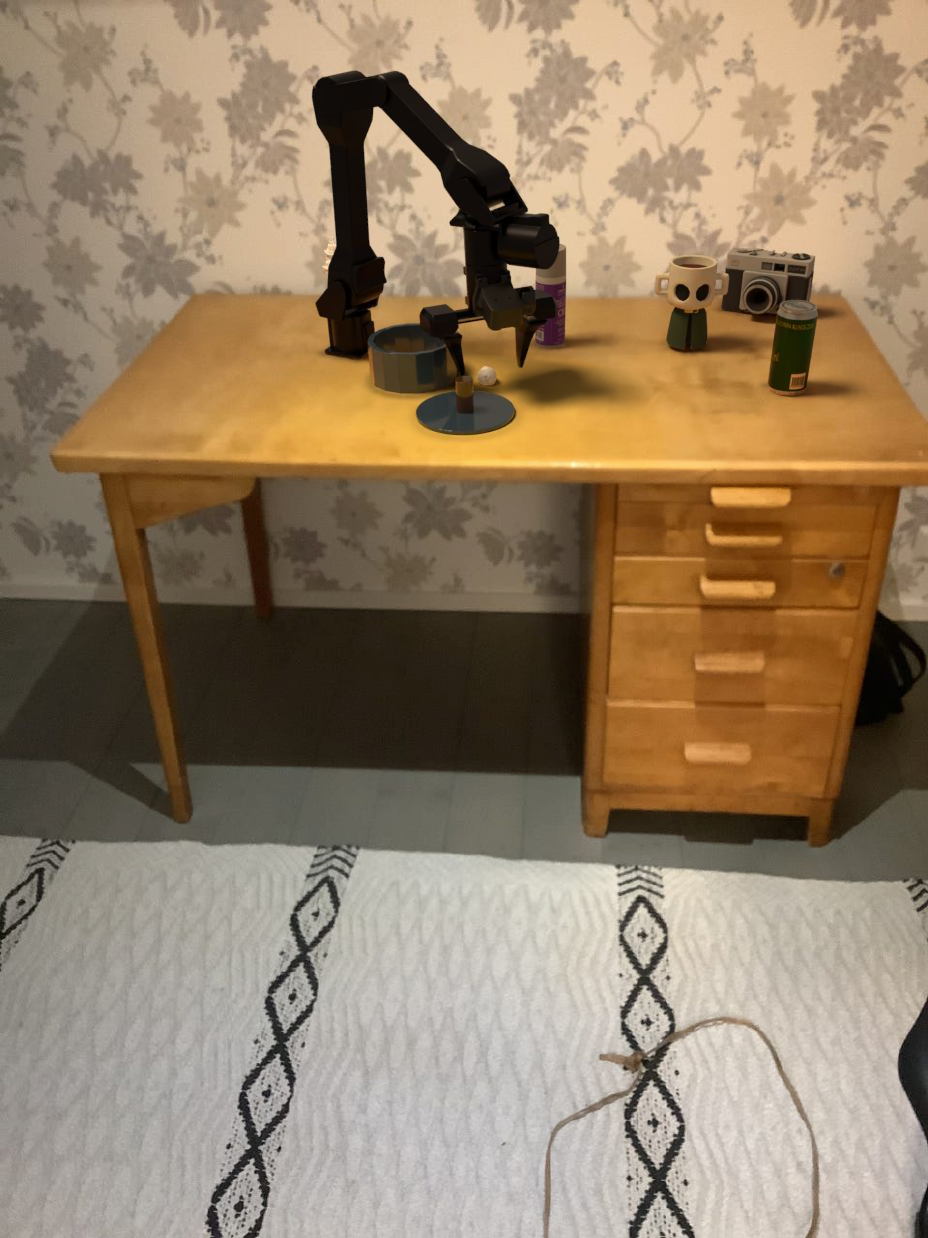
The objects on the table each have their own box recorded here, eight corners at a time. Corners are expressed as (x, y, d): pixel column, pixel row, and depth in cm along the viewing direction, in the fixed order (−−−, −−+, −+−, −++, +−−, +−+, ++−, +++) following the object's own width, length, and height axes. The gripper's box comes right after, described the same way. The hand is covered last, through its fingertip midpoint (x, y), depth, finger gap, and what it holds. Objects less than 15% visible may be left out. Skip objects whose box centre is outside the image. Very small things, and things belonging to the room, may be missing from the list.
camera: (708, 314, 180) (716, 252, 175) (731, 300, 186) (739, 240, 181) (789, 329, 173) (800, 265, 168) (810, 314, 180) (820, 252, 174)
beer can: (814, 391, 153) (827, 308, 147) (783, 399, 152) (795, 315, 145) (789, 378, 157) (801, 296, 151) (759, 386, 156) (769, 303, 149)
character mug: (651, 353, 167) (657, 268, 160) (650, 337, 173) (655, 254, 166) (723, 354, 166) (733, 268, 159) (720, 337, 172) (728, 254, 164)
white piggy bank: (495, 390, 158) (494, 371, 156) (475, 389, 158) (474, 370, 156) (498, 382, 160) (497, 363, 158) (478, 381, 160) (477, 362, 159)
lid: (398, 428, 148) (395, 389, 145) (444, 391, 158) (442, 354, 155) (488, 445, 143) (487, 406, 140) (530, 406, 153) (530, 368, 149)
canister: (355, 389, 160) (351, 347, 156) (397, 359, 169) (395, 318, 165) (431, 402, 155) (429, 359, 151) (470, 370, 164) (469, 329, 160)
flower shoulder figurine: (336, 299, 193) (329, 230, 186) (358, 300, 192) (352, 230, 185) (323, 317, 185) (315, 245, 179) (345, 317, 185) (338, 246, 178)
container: (562, 349, 170) (564, 252, 161) (533, 348, 171) (533, 251, 162) (566, 338, 173) (568, 242, 165) (537, 337, 174) (538, 242, 166)
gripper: (438, 285, 140) (447, 401, 148) (572, 264, 144) (573, 378, 152) (414, 265, 149) (423, 376, 157) (541, 247, 153) (543, 355, 161)
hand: (491, 371), depth 157 cm, fingers open, 8 cm apart
